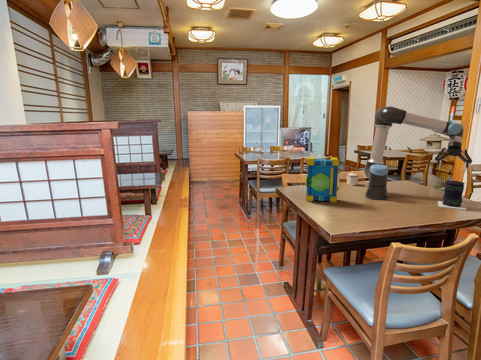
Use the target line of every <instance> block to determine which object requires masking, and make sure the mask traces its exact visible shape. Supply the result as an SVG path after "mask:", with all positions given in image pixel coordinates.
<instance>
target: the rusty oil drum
mask: <svg viewBox="0 0 481 360" xmlns="http://www.w3.org/2000/svg"><path fill="white" fill-rule="evenodd" d="M464 190H465V182H463V181H459V180H445V184H444V192H443V193H444V194H443V198H442V201H443V203H442V204H443V205H446V206H450V207H461V203H462V204H463V193H464Z"/></svg>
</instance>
